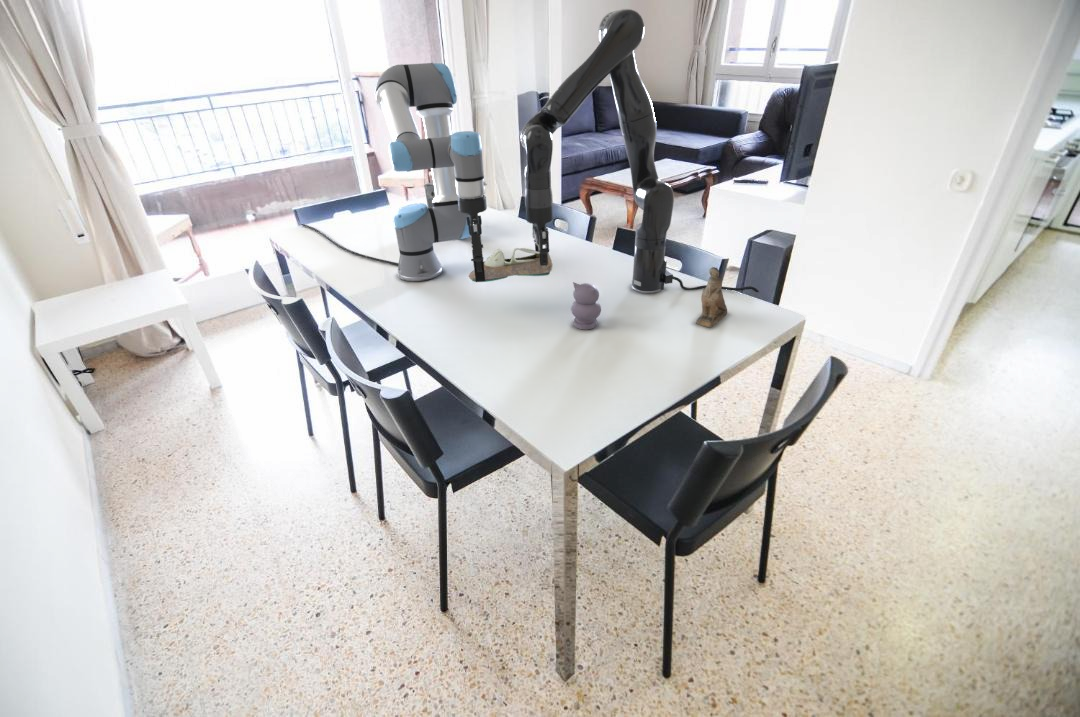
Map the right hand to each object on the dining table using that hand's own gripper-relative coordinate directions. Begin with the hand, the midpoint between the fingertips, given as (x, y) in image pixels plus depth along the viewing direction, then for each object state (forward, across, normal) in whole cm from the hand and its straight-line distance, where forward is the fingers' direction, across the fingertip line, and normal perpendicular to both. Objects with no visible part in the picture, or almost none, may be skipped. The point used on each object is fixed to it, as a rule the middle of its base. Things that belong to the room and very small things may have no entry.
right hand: (541, 259), depth 145 cm
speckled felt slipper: (+4, 0, +9) cm, 10 cm away
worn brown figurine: (+14, -21, -45) cm, 51 cm away
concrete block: (+14, +77, +27) cm, 83 cm away
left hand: (+3, 0, +18) cm, 19 cm away
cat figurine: (+14, -16, -9) cm, 24 cm away
